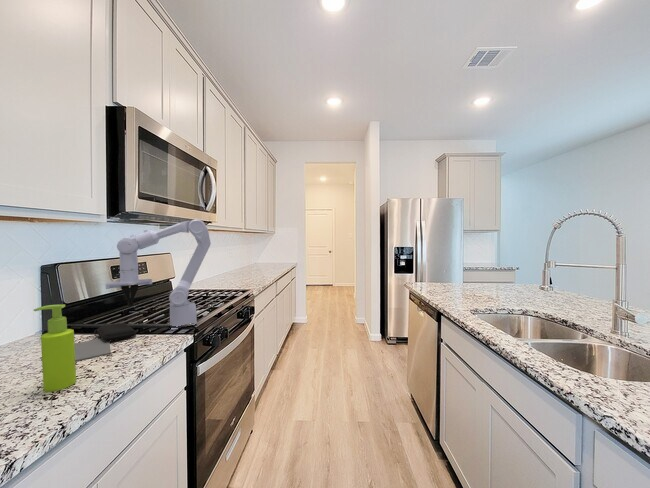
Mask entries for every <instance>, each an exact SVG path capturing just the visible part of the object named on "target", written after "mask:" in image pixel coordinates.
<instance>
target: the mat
mask: <svg viewBox="0 0 650 488" xmlns="http://www.w3.org/2000/svg"><path fill="white" fill-rule="evenodd" d="M74 345H75V363H76V362H79V361H80V362H81V361H83V360H89V359H94V358H98V357H102V356H107V355H111V354H112V350H111V341H106V340H103V339H102V338H101V337H100V338H95V339H91V340H86V341H81V342H74Z"/></svg>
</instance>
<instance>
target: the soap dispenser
mask: <svg viewBox="0 0 650 488" xmlns="http://www.w3.org/2000/svg"><path fill="white" fill-rule="evenodd" d="M64 308H66V303H65V304H62V303H61V304H49V305H43V306H40V307H37V308H34V309H33V311H34V312H39V311H42V310H51V318H49V319H47V332H45V333H43V334H41V336H40V344H41V347H40V348H41V363H42V366H41V367H42V368H41V369H42V383H43V384H42V387H43V392H47V393H49V392H52V393H53V392H58V391H61V390H63V389H66V388H69V387H71V386H73V385H74V384H76V383H77V371H76V370H77V369H76V367H77V366H76V362H75V345H74V343H75V331H74V329H72V328H68V321H67V319H68V318H67V316H63V315H62V314H63V312H62V309H64Z"/></svg>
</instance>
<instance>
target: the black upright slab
mask: <svg viewBox="0 0 650 488" xmlns="http://www.w3.org/2000/svg"><path fill="white" fill-rule="evenodd" d="M93 333H94V335H96V334H97V335H98V336H99V337H100V338H102V339H103V340H106V341H109V342H113V341H119V340H123V339H129V338H133V337H134V336H135V335H136V334H137V332H136V330H135V329H134V328H133V327H131V326H130V325H128V324H127V323H125V322H120V323H113V324H107V325H102V326H98V328H96V329H95V330H94V332H93Z"/></svg>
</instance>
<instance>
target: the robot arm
mask: <svg viewBox="0 0 650 488" xmlns="http://www.w3.org/2000/svg"><path fill="white" fill-rule="evenodd" d="M179 233H188V234H189V233H191V235H192V236H193V237H194V239H195V241H196V243H197V246H196V248H195V250H194V252H193V254H192V256H191V257H190V259H189V262H188V263H187V266H186V268H185V270H184V272H183V274H182V276H181V278H180V280H179V282H178V284H177V286H176V287H174V289H173V290H172V291H171V292H170V294H169V295H168V300H169V302H170V303H169V322H170V323H169V324H170V325H172V326H176V327H178V326H181V325H184V324H187V323H197V324H198V322H197V320H198V319H197V318H198V317H197V306H196V303H195V302H192V301H191V302H190V300H188V297H189V295H190V291H189V289H190V288H191V286H192V284H193V282H194V280H195V278H196V275H197V274H198V271H199V269H200V267H201V265H202V263H203V261H204V259H205V257H206V254H207V253H208V251H209V249H210V246H211V238H210V233H209V229H208V227H207V225H206V223H205V222H204V221H203V220H201V219H199V218H194V219H192V220H191V221H190V220H186V221H182V222H178V223H176V224H172V225H171V226H168V227H165V228H162V229H159V230H158V231H157V230H156V231H154V230H152V229H150V230H149V229H145V230H143V231H142V232H141V233H138V234H136V235H134V234H131V235H130V236H129V237H130V238H129V237H124V238H122V239H120V240H119V241H118V242H117V244H116V248H117V251H118V252H119V258H118V259H119V279H120V280H119V281H112V282H105V290H109V289H119V288H121V290H122V292H123V293H124V295H125V298H126V301H127V306H128V307H130V306H133V305H134V301H135V297H136V294H137V293H138V290H139V289H140V288H139V286H144V285H153V279H152V278H144V279H143V278H142V279H139V261H138V260H139V258H138V250H143V249H146V248H149V247H151V246H154V245H157V244H158V243H159V241H160V240H161V239H163V238H167V237H170V236H173V235H176V234H179ZM170 330H171V331H175V330H179V329H178V328H171V329H170Z"/></svg>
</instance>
